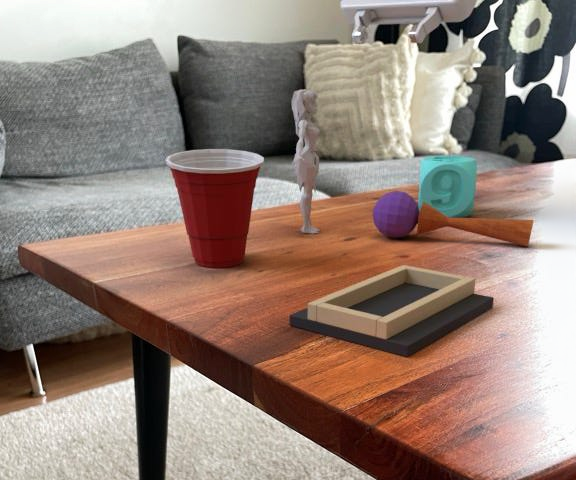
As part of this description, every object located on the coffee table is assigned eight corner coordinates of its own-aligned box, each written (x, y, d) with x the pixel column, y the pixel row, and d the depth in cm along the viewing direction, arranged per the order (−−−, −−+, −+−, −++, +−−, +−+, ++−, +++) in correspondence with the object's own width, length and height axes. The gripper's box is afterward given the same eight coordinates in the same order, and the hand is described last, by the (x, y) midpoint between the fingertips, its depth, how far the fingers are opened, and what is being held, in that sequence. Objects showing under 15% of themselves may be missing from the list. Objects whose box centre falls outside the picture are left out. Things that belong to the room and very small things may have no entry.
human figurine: (311, 242, 93) (312, 91, 85) (282, 240, 93) (281, 91, 86) (325, 223, 103) (328, 87, 96) (299, 222, 104) (300, 87, 97)
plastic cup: (175, 277, 78) (167, 162, 73) (169, 253, 88) (162, 150, 83) (274, 271, 80) (272, 159, 75) (257, 248, 90) (255, 147, 85)
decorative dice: (469, 209, 112) (474, 156, 109) (472, 219, 105) (478, 163, 102) (417, 207, 114) (421, 155, 110) (417, 217, 107) (421, 161, 103)
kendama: (534, 219, 86) (370, 197, 91) (524, 265, 89) (366, 241, 94) (536, 201, 90) (380, 181, 95) (526, 245, 94) (376, 224, 99)
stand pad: (492, 307, 68) (496, 282, 67) (407, 357, 57) (409, 327, 56) (384, 284, 75) (386, 261, 74) (289, 325, 64) (289, 298, 63)
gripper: (357, -47, 108) (317, 23, 105) (484, -60, 96) (443, 19, 93) (372, -11, 113) (334, 57, 110) (494, -19, 101) (455, 57, 98)
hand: (385, 40), depth 101 cm, fingers open, 8 cm apart
